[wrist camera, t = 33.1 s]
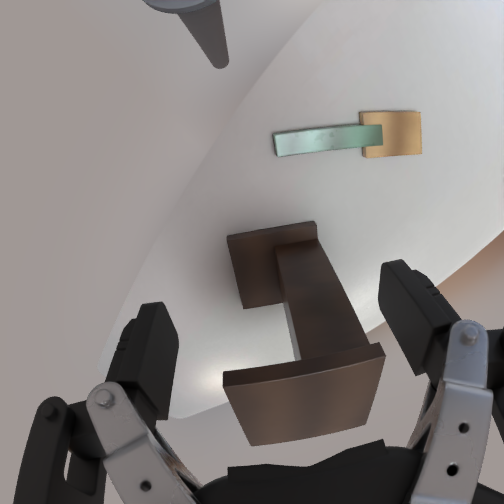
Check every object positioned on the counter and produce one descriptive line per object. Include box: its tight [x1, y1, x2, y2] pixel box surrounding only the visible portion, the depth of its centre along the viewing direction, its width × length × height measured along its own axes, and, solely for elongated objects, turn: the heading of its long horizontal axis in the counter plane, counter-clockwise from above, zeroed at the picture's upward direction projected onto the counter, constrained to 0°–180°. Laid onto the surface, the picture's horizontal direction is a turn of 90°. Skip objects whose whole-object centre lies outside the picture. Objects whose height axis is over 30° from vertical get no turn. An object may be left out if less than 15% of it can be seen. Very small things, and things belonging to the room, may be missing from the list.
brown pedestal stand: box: [223, 221, 386, 446], centre depth 32 cm, size 12×12×24 cm
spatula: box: [273, 111, 422, 158], centre depth 33 cm, size 20×6×2 cm, turn 100°
